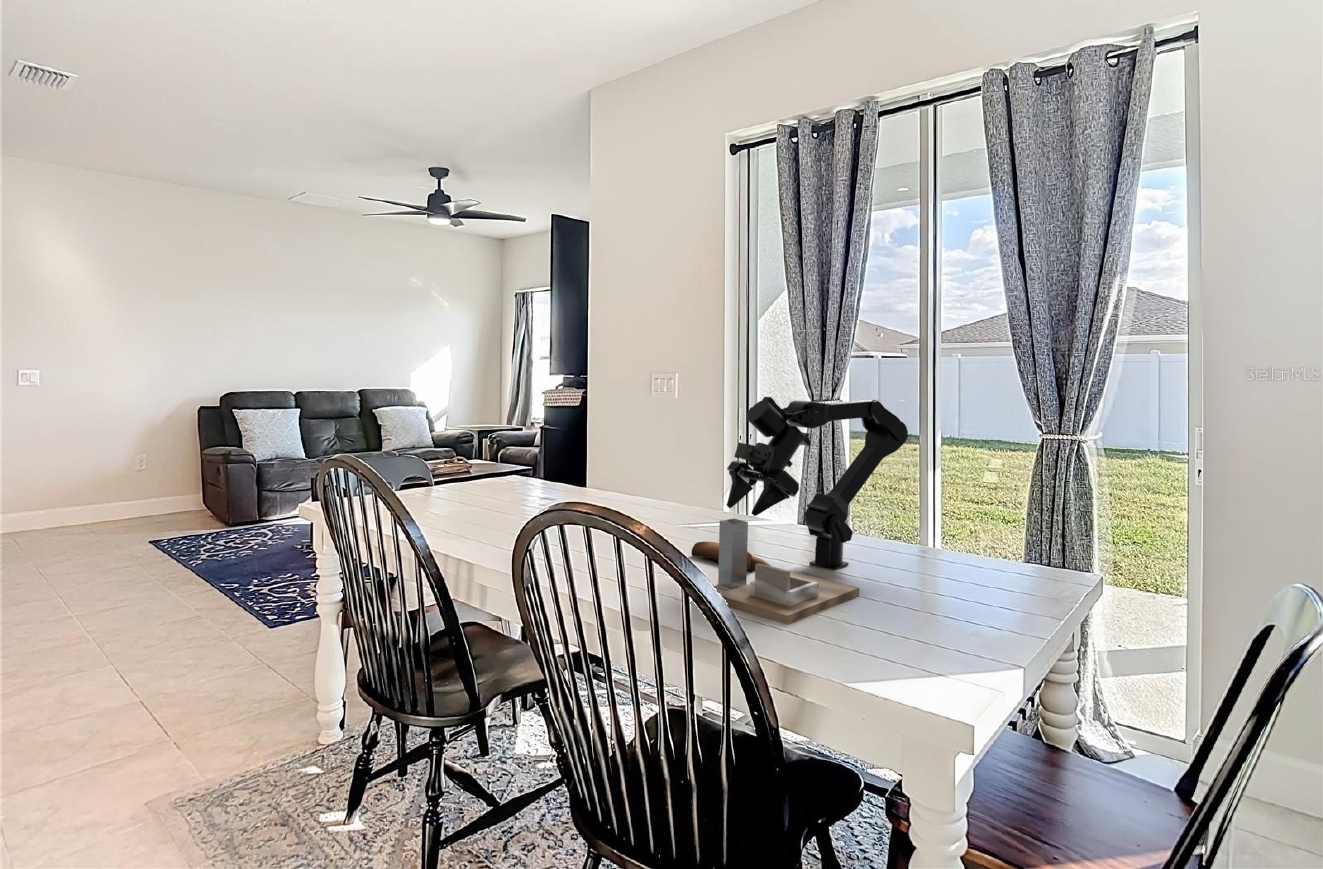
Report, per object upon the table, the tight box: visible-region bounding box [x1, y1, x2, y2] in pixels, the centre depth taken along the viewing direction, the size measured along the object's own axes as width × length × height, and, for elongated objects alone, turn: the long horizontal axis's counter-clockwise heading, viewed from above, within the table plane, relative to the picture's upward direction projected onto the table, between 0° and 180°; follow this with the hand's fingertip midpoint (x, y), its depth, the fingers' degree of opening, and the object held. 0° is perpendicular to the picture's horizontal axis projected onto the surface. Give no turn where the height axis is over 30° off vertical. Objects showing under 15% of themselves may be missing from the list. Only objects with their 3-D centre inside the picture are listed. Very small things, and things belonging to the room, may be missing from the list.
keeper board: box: [720, 563, 861, 625], centre depth 136 cm, size 24×16×8 cm, turn 135°
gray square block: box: [717, 518, 749, 590], centre depth 144 cm, size 4×4×13 cm
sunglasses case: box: [691, 541, 772, 573], centre depth 163 cm, size 18×7×7 cm
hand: (740, 510), depth 149 cm, fingers open, 9 cm apart
